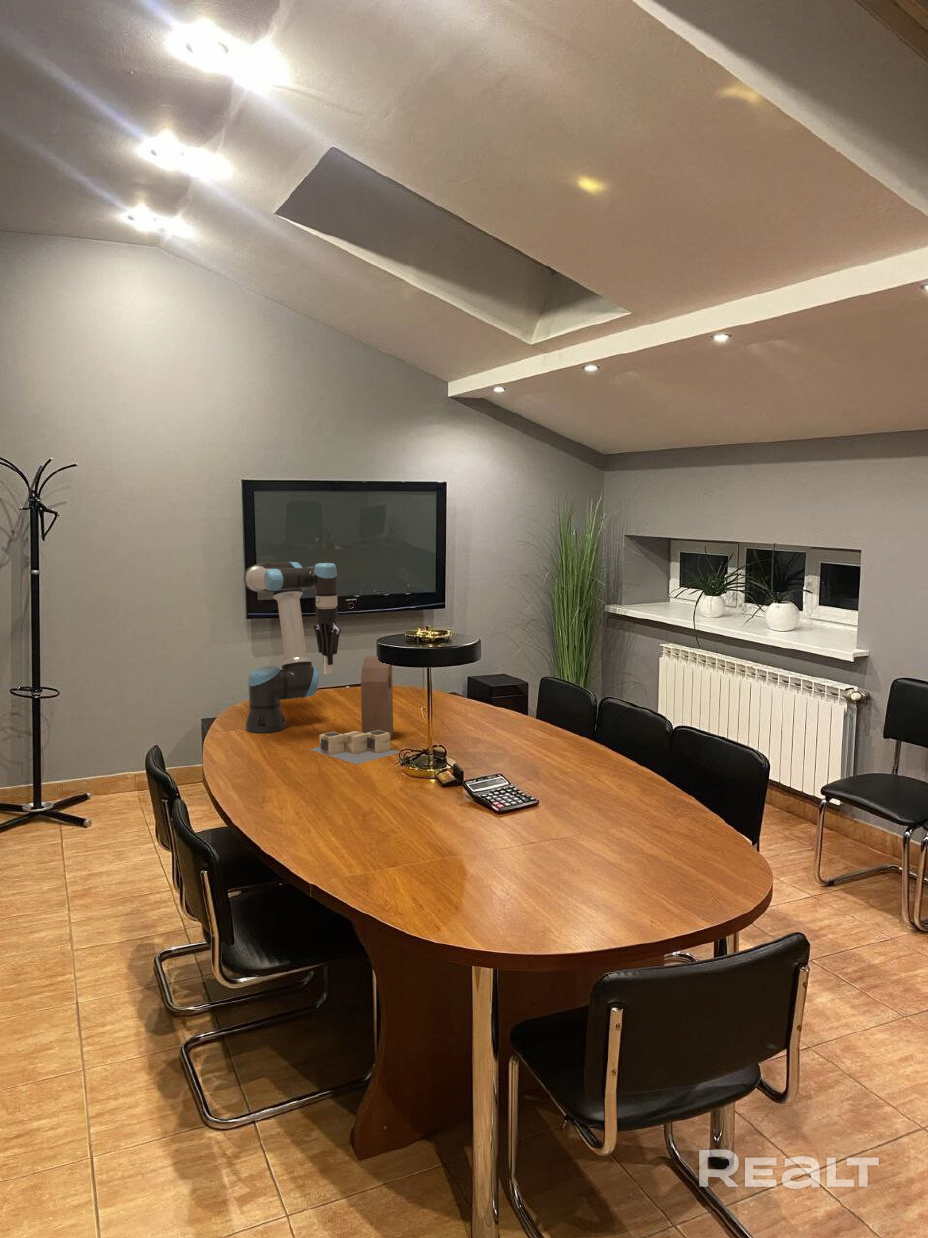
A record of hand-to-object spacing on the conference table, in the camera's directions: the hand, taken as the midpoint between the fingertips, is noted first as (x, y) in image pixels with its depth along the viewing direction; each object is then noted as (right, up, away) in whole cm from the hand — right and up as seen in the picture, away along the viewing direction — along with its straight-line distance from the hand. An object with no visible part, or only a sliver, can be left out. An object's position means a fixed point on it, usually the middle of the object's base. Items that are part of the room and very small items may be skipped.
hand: (328, 673), depth 329 cm
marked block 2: (+18, -26, -4) cm, 32 cm away
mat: (+10, -27, -5) cm, 29 cm away
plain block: (+10, -27, -5) cm, 29 cm away
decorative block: (+16, -25, +13) cm, 33 cm away
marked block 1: (+2, -27, -6) cm, 28 cm away
